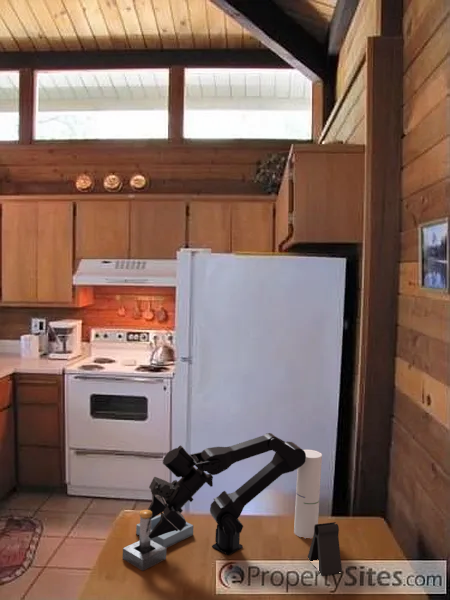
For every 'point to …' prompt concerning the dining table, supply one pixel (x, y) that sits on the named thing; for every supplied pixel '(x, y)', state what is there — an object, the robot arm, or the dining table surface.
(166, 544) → the tray
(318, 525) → the phone stand
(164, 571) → the dining table surface
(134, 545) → the pin collar
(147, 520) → the pin
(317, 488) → the cylindrical container
